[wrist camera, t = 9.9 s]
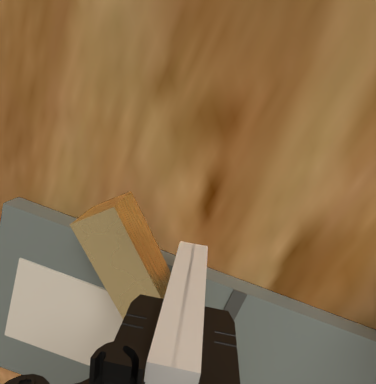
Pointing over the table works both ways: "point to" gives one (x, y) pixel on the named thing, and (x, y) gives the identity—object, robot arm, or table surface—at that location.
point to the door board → (111, 319)
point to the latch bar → (122, 251)
